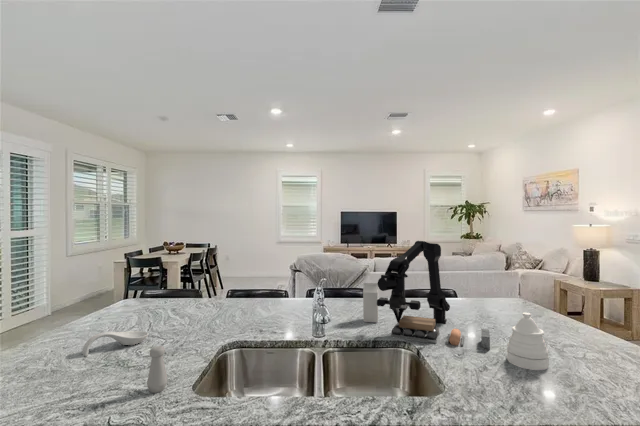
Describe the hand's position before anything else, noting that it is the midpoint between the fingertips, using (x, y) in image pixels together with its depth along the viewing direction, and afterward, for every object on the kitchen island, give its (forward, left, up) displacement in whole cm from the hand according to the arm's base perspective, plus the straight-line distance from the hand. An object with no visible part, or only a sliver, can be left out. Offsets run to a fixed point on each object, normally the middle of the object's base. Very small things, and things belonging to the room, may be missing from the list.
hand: (398, 322), depth 156 cm
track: (0, +13, -5) cm, 13 cm away
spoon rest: (+63, -102, -5) cm, 120 cm away
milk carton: (-14, -17, -5) cm, 23 cm away
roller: (0, +24, -5) cm, 24 cm away
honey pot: (+12, +49, -5) cm, 51 cm away
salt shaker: (+81, -57, -5) cm, 99 cm away
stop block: (0, +35, -5) cm, 36 cm away
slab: (0, +8, 0) cm, 8 cm away
